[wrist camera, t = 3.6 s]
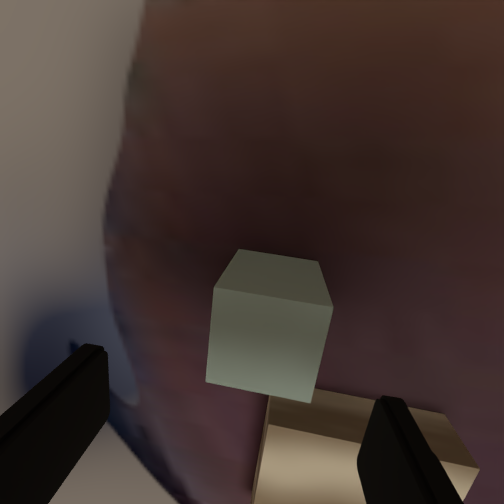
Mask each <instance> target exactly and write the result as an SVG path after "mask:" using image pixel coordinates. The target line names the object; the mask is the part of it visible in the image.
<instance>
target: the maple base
mask: <svg viewBox="0 0 504 504" xmlns="http://www.w3.org/2000/svg"><path fill="white" fill-rule="evenodd" d="M375 401H376V400H371V399H366V398H361V397H356V396H351V395H346V394H341V393H336V392H331V391H326V390H321V389H315V388H314V391H313V395H312V399H311V403H306V402H301V401H296V400H291V399H287V398H282V397H277V396H272V395H269V399H268V405H267V410H266V416H265V421H264V427H263V433H262V438H261V444H260V449H259V455H258V460H257V466H256V472H255V477H254V483H253V488H252V496H251V504H366V501H365V497H364V493H363V489H362V486H361V482H360V478H359V474H358V470H357V456H358V453H359V450H360V446H361V443H362V440H363V437H364V434H365V431H366V428H367V425H368V422H369V419H370V416H371V412H372V409H373V406H374V403H375ZM408 409H409V411H410V412H411V414H412V416H413V418H414V420H415V421H416V423H417V425H418V427H419V429H420V430H421V432H422V434H423V436H424V438H425V439H426V441H427V443H428V445H429V447H430V448H431V450H432V452H433V453H434V454H435V455H436V456H437V457H438V459H439V460H440V462H441V464H442V466H443V467H444V469H445V471H446V473H447V475H448V476H449V478H450V480H451V482H452V483H453V485H454V487H455V489H456V491H457V492H458V494H459V496H460V498H461V499H462V501H463V500H464V498H465V496H466V494H467V493H468V491H469V489H470V487H471V485H472V483H473V481H474V480H475V478H476V476H477V474H478V472H479V470H480V468H479V467H478V465H477V464H476V462H475V461H474V459H473V458H472V456H471V455H470V453H469V451H468V450H467V448H466V447H465V445H464V444H463V442H462V441H461V439H460V438H459V436H458V435H457V433H456V431H455V430H454V428H453V427H452V425H451V424H450V422H449V421H448V419H447V418H446V416H445V414H441V413H436V412H431V411H426V410H421V409H416V408H411V407H408Z"/></svg>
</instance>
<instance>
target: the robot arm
mask: <svg viewBox="0 0 504 504" xmlns="http://www.w3.org/2000/svg"><path fill="white" fill-rule="evenodd" d="M109 413H110V399H109V374H108V354H107V352H106V351H104V348H103V346H98V345H93V344H87V343H86V344H84V345H82V346H81V347H80V348H78V349H77V350H76V351H75V352H74V353H73V354H71V355H70V356H69V357H68V358H67V359H66V360H64V361H63V362H62V363H61V364H60V365H59V366H58V367H56V368H55V369H54V370H53V371H52V372H51V373H49V374H48V375H47V376H46V377H45V378H44V379H43V380H41V381H40V382H39V383H38V384H37V385H35V386H34V387H33V388H32V389H31V390H30V391H28V392H27V393H26V394H25V395H24V396H23V397H22V398H20V399H19V400H18V401H17V402H16V403H15V404H13V405H12V406H11V407H10V408H9V409H8V410H6V411H5V412H4V413H3V414H2V415H1V416H0V504H48V503H49V502H50V500H51V499H52V497H53V496H54V495H55V493H56V492H57V490H58V489H59V487H60V486H61V485H62V483H63V482H64V480H65V479H66V477H67V476H68V475H69V473H70V472H71V470H72V469H73V468H74V466H75V465H76V463H77V462H78V460H79V459H80V458H81V456H82V455H83V453H84V452H85V451H86V449H87V448H88V446H89V445H90V444H91V442H92V441H93V439H94V438H95V436H96V435H97V434H98V432H99V430H100V429H101V428H102V426H103V425H104V424H105V422H106V420H107V418H108V416H109ZM357 470H358V474H359V478H360V482H361V486H362V489H363V493H364V497H365V501H366V504H464V503H463V501H462V499H461V498H460V496H459V494H458V492H457V491H456V489H455V487H454V485H453V483H452V482H451V480H450V478H449V476H448V475H447V473H446V471H445V469H444V467H443V466H442V464H441V462H440V460H439V459H438V457H437V456H436V455H435V454H434V453H433V452H432V450H431V448H430V447H429V445H428V443H427V441H426V439H425V438H424V436H423V434H422V432H421V430H420V429H419V427H418V425H417V423H416V421H415V420H414V418H413V416H412V414H411V412H410V411H409V409H408V407H407V405H406V403H405V402H404V400H403V399H401V398H396V397H390V396H382V397H381V398H380V399H377V400H376V401H375V403H374V406H373V409H372V412H371V416H370V419H369V422H368V425H367V428H366V431H365V434H364V437H363V440H362V443H361V446H360V450H359V453H358V456H357Z"/></svg>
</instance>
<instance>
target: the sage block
mask: <svg viewBox="0 0 504 504" xmlns="http://www.w3.org/2000/svg"><path fill="white" fill-rule="evenodd" d="M333 308H334V307H333V304H332V301H331V298H330V295H329V292H328V289H327V286H326V283H325V280H324V278H323V275H322V272H321V269H320V266H319V263H318V261H313V260H307V259H300V258H294V257H288V256H281V255H275V254H269V253H262V252H256V251H249V250H243V249H238V251H237V252H236V254H235V255H234V257H233V259H232V260H231V262H230V263H229V265H228V266H227V268H226V269H225V271H224V272H223V274H222V275H221V277H220V278H219V280H218V281H217V283H216V284H215V286H214V291H213V302H212V314H211V325H210V337H209V348H208V360H207V371H206V382H208V383H213V384H218V385H223V386H228V387H233V388H238V389H243V390H247V391H252V392H257V393H262V394H267V395H272V396H277V397H282V398H287V399H291V400H296V401H301V402H306V403H311V399H312V395H313V391H314V387H315V383H316V379H317V374H318V370H319V366H320V362H321V358H322V354H323V349H324V345H325V341H326V337H327V333H328V329H329V325H330V320H331V316H332V312H333Z"/></svg>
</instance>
